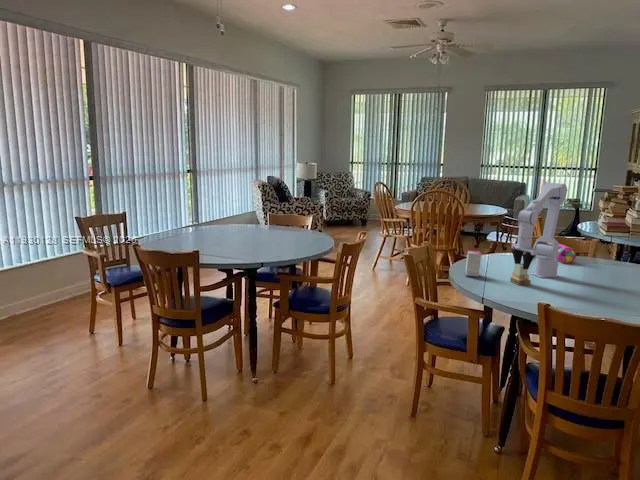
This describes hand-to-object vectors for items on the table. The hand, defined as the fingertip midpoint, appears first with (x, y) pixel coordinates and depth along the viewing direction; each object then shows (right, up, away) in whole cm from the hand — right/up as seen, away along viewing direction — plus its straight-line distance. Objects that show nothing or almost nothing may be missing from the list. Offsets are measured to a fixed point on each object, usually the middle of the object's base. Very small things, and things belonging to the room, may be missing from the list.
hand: (521, 267), depth 219 cm
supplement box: (-19, -5, +12) cm, 23 cm away
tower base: (0, -8, +2) cm, 8 cm away
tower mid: (0, -5, +1) cm, 5 cm away
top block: (0, -3, +1) cm, 3 cm away
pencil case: (+41, +1, +51) cm, 65 cm away
